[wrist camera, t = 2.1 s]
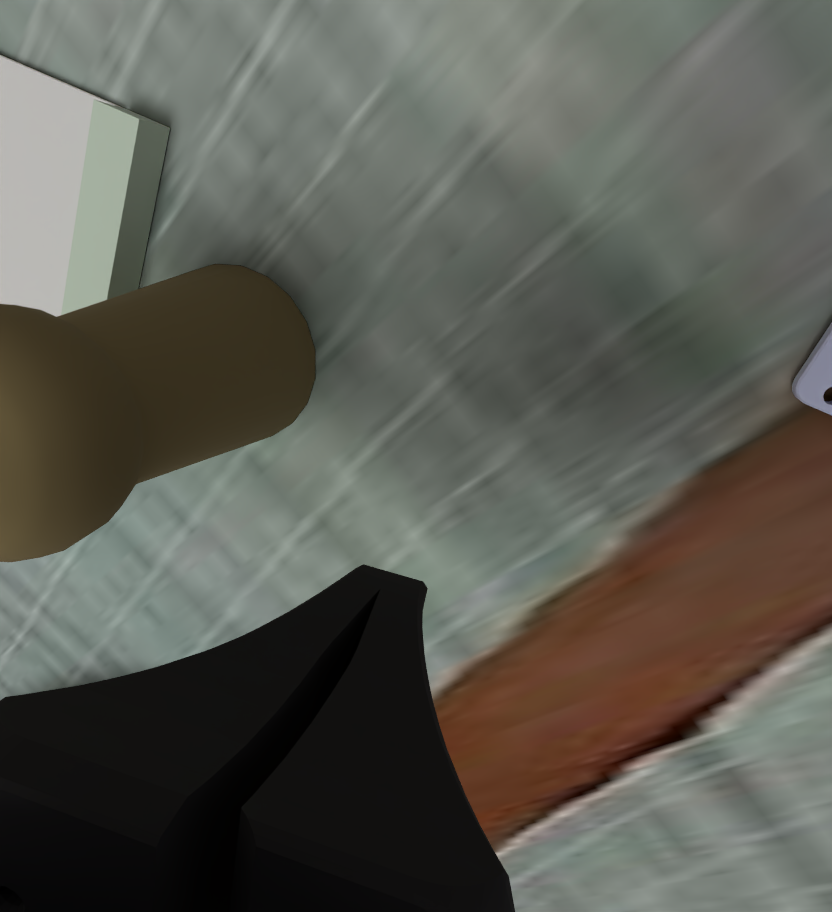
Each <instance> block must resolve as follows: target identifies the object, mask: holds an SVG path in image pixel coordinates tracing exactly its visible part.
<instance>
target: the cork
mask: <svg viewBox="0 0 832 912" xmlns="http://www.w3.org/2000/svg"><path fill="white" fill-rule="evenodd" d="M314 381H315V348H314V345H313V341H312V338H311V335H310V331H309V328H308V325H307V322H306V320H305V319H304V317H303V315H302V314H301V312H300V311H299V309H298V308H297V306H296V305H295V303H294V302H293V300H292V298H291V297H290V296H289V295H288V294H287V293H286V292H285V291H283V290H282V289H281V288H280V287H279V286H278V285H276V284H275V283H274V282H273V281H272V280H271V279H269V278H268V277H267V276H264V275H262V274H260V273H257V272H255V271H253V270H250V269H248V268H246V267H243V266H239V265H224V264H213V265H210V266H206V267H203V268H200V269H197V270H194V271H190V272H187V273H185V274H182V275H179V276H176V277H173V278H170V279H167V280H164V281H161V282H158V283H155V284H152V285H149V286H146V287H143V288H140V289H137V290H134V291H131V292H128V293H125V294H122V295H119V296H117V297H114V298H111V299H108V300H105V301H102V302H99V303H96V304H93V305H90V306H87V307H84V308H81V309H78V310H75V311H72V312H69V313H66V314H63V315H60V316H57V317H56V316H54V315H51V314H49V313H47V312H45V311H42V310H39V309H34V308H29V307H23V306H18V305H9V304H0V562H15V561H21V560H27V559H33V558H39V557H43V556H46V555H50V554H53V553H57V552H60V551H64V550H65V549H67V548H69V547H70V546H72V545H73V544H75V543H76V542H78V541H79V540H81V539H83V538H84V537H86V536H87V535H89V534H90V533H92V532H93V531H95V530H96V529H98V528H100V527H101V526H103V525H104V524H106V523H107V522H109V520H110V519H111V518H112V517H113V516H114V514H115V513H116V512H117V511H118V510H119V508H120V507H121V506H122V505H123V503H124V502H125V500H126V498H127V497H128V495H129V494H130V492H131V491H132V489H133V488H134V486H135V485H136V484H137V483H140V482H143V481H146V480H149V479H152V478H154V477H157V476H160V475H163V474H166V473H169V472H171V471H174V470H177V469H180V468H183V467H186V466H189V465H191V464H194V463H197V462H200V461H203V460H206V459H208V458H211V457H214V456H217V455H220V454H223V453H225V452H228V451H231V450H234V449H237V448H240V447H242V446H245V445H248V444H251V443H254V442H257V441H259V440H262V439H265V438H268V437H271V436H273V435H275V434H276V433H278V432H279V431H281V430H283V429H284V428H286V427H287V426H289V425H290V424H292V423H293V422H294V420H295V419H296V418H297V416H298V415H299V414H300V413H301V411H302V410H303V409H304V407H305V406H306V405H307V403H308V400H309V397H310V393H311V390H312V387H313V384H314Z"/></svg>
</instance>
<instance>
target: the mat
mask: <svg viewBox="0 0 832 912" xmlns="http://www.w3.org/2000/svg"><path fill="white" fill-rule="evenodd" d="M94 100H98V101H101V102H104V103H108V104H111V105H114V106H117V107H120V106H118V105H116V104H114V103H111V102H109V101H107V100H104V99H102V98H100V97H97V96H95V95H93V94H90V93H88V92H86V91H83V90H81V89H79V88H76V87H74V86H72V85H70V84H67V83H65V82H63V81H60V80H58V79H56V78H53V77H51V76H49V75H46V74H44V73H42V72H39V71H37V70H35V69H33V68H30V67H28V66H26V65H23V64H21V63H19V62H16V61H14V60H12V59H9V58H7V57H5V56H2V55H0V304H9V305H18V306H23V307H29V308H34V309H39V310H42V311H45V312H47V313H49V314H51V315H54V316H56V317H57V316H60V315H61V312H62V305H63V299H64V292H65V286H66V279H67V272H68V266H69V259H70V253H71V246H72V239H73V233H74V226H75V220H76V213H77V206H78V200H79V193H80V187H81V180H82V173H83V167H84V160H85V154H86V147H87V140H88V134H89V127H90V121H91V114H92V107H93V101H94ZM121 108H123V107H121Z"/></svg>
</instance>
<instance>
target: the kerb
mask: <svg viewBox="0 0 832 912" xmlns="http://www.w3.org/2000/svg"><path fill="white" fill-rule="evenodd" d="M169 131H170V128H169V127H167V126H164V125H162V124H160V123H158V122H155V121H153V120H151V119H148V118H146V117H144V116H141V115H139V114H137V113H134V112H132V111H130V110H127V109H124V108H121V107H117V106H114V105H111V104H108V103H104V102H101V101H98V100H94V101H93V107H92V114H91V121H90V127H89V134H88V140H87V147H86V154H85V160H84V167H83V173H82V180H81V187H80V193H79V200H78V206H77V213H76V220H75V226H74V233H73V239H72V246H71V253H70V259H69V266H68V272H67V279H66V286H65V292H64V299H63V305H62V312H61V315H63V314H66V313H69V312H72V311H75V310H78V309H81V308H84V307H87V306H90V305H93V304H96V303H99V302H102V301H105V300H108V299H111V298H114V297H117V296H119V295H122V294H125V293H128V292H131V291H134V290H137V289H138V287H139V282H140V277H141V272H142V267H143V262H144V257H145V252H146V247H147V242H148V237H149V232H150V227H151V222H152V217H153V212H154V207H155V202H156V197H157V192H158V187H159V182H160V177H161V172H162V167H163V161H164V156H165V151H166V146H167V141H168V136H169Z"/></svg>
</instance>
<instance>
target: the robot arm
mask: <svg viewBox="0 0 832 912" xmlns="http://www.w3.org/2000/svg"><path fill="white" fill-rule="evenodd" d="M830 387H832V323H831V324H830V326H829V327H828V329H827V330H826V332H825V333H824V335H823V336H822V338H821V339H820V341H819V342H818V344H817V345H816V347H815V348H814V350H813V351H812V353H811V354H810V356H809V357H808V359H807V360H806V362H805V363H804V365H803V366H802V368H801V369H800V371H799V372H798V374H797V375H796V377H795V379H794V381H793V384H792V392H793V394H794V395H795V397H796V398H797V399H799V400H800V401H802V402H803V403H804V404H807V405H809V406H811V407H813V408H816V409H818V410H820V411H823V412H825V413H827V414H830V415H832V401H829V402H826V401H824V398H823V395H824V392H825V391H826V390H827V389H828V388H830ZM426 593H427V587H426V585H425V584H424V582H423V581H419V580H416V579H412V578H409V577H405V576H402V575H398V574H395V573H391V572H388V571H384V570H381V569H377V568H374V567H370V566H367V565H361V566H359V567H357V568H356V569H354V570H353V571H351V572H350V573H348V574H347V575H345V576H344V577H342V578H341V579H340V580H338V581H337V582H335V583H334V584H332V585H331V586H329V587H328V588H326V589H325V590H323V591H322V592H320V593H319V594H317V595H315V596H314V597H312V598H310V599H309V600H307V601H306V602H304V603H302V604H301V605H299V606H297V607H296V608H294V609H292V610H291V611H289V612H287V613H285V614H284V615H282V616H280V617H278V618H276V619H274V620H272V621H271V622H269V623H267V624H265V625H263V626H261V627H259V628H258V629H256V630H253V631H251V632H249V633H247V634H245V635H243V636H241V637H239V638H236V639H234V640H232V641H229V642H227V643H224V644H222V645H219V646H217V647H215V648H212V649H209V650H207V651H204V652H201V653H198V654H195V655H192V656H189V657H186V658H183V659H180V660H177V661H174V662H171V663H168V664H165V665H162V666H159V667H155V668H152V669H148V670H144V671H140V672H137V673H133V674H129V675H125V676H121V677H117V678H112V679H108V680H103V681H99V682H94V683H89V684H84V685H79V686H74V687H68V688H62V689H55V690H49V691H43V692H37V693H31V694H25V695H18V696H10V697H5V698H3V699H2V700H1V701H0V912H515V909H514V903H513V897H512V892H511V886H510V881H509V876H508V874H507V873H506V871H505V869H504V868H503V866H502V864H501V862H500V861H499V859H498V857H497V856H496V854H495V852H494V850H493V849H492V847H491V845H490V843H489V841H488V839H487V837H486V836H485V834H484V832H483V830H482V828H481V826H480V824H479V822H478V820H477V818H476V816H475V814H474V812H473V810H472V808H471V806H470V804H469V802H468V799H467V797H466V795H465V793H464V790H463V788H462V785H461V783H460V781H459V778H458V776H457V773H456V771H455V768H454V766H453V763H452V761H451V758H450V756H449V753H448V751H447V748H446V745H445V742H444V738H443V735H442V732H441V729H440V726H439V722H438V719H437V715H436V712H435V708H434V704H433V700H432V695H431V691H430V686H429V680H428V675H427V669H426V662H425V655H424V644H423V631H422V613H423V606H424V602H425V597H426Z"/></svg>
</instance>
